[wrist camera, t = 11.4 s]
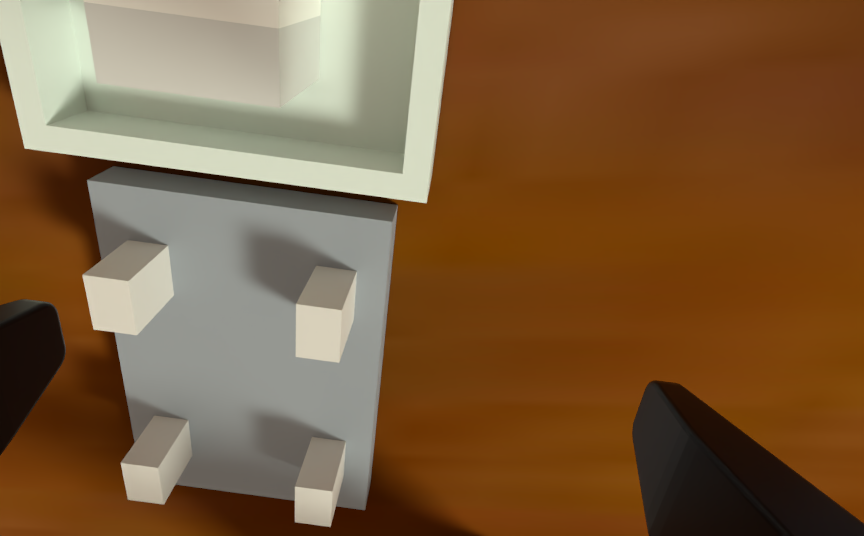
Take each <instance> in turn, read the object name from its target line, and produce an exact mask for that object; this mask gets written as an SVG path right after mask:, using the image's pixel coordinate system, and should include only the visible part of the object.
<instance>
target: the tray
mask: <svg viewBox="0 0 864 536" xmlns="http://www.w3.org/2000/svg"><path fill="white" fill-rule="evenodd" d="M453 3H454V0H321V24H320V71H319V80H317V81H316V82H315V83H313V84H312V85H311V86H309V87H308V88H306V89H305V90H304V91H302V92H301V93H300V94H298V95H297V96H295V97H294V98H293V99H291V100H290V101H289V102H287V103H286V104H285V105H283V106H282V107H280V108H277V107H269V106H262V105H255V104H247V103H240V102H233V101H225V100H218V99H211V98H203V97H196V96H188V95H181V94H174V93H166V92H159V91H152V90H144V89H137V88H130V87H122V86H115V85H108V84H100V83H97V81H96V74H95V68H94V62H93V56H92V50H91V44H90V38H89V32H88V26H87V20H86V14H85V7H84V1H83V0H0V43H1V47H2V52H3V56H4V60H5V65H6V69H7V73H8V78H9V82H10V86H11V91H12V95H13V99H14V104H15V108H16V112H17V117H18V121H19V125H20V130H21V134H22V138H23V143H24V147H25V148H26V149H33V150H40V151H48V152H55V153H62V154H70V155H77V156H84V157H92V158H99V159H106V160H114V161H121V162H128V163H135V164H143V165H150V166H157V167H165V168H172V169H179V170H187V171H194V172H201V173H209V174H216V175H223V176H231V177H238V178H245V179H253V180H260V181H267V182H275V183H282V184H289V185H297V186H304V187H311V188H319V189H326V190H333V191H341V192H348V193H355V194H363V195H370V196H377V197H385V198H392V199H399V200H407V201H414V202H421V203H427V198H428V193H429V188H430V183H431V177H432V170H433V162H434V154H435V146H436V138H437V130H438V122H439V114H440V107H441V99H442V91H443V83H444V75H445V67H446V59H447V51H448V43H449V35H450V27H451V19H452V11H453Z"/></svg>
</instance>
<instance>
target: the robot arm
mask: <svg viewBox="0 0 864 536" xmlns="http://www.w3.org/2000/svg"><path fill="white" fill-rule="evenodd" d="M65 351H66V348H65V343H64V338H63V334H62V329H61V325H60V320H59V316H58V312H57V309H56V308H55V306H54V305H52V304H51V303H49V302H42V301H35V300H27V299H24V300H17V301H14V302H10V303H7V304H3V305H0V455H1V454H2V452H3V451H4V450H5V448H6V447H7V446H8V444H9V443H10V441H11V440H12V438H13V437H14V436H15V434H16V433H17V431H18V430H19V428H20V427H21V425H22V424H23V422H24V421H25V419H26V418H27V416H28V415H29V413H30V412H31V410H32V409H33V407H34V406H35V404H36V403H37V401H38V400H39V398H40V397H41V395H42V394H43V392H44V390H45V389H46V387H47V386H48V384H49V383H50V381H51V380H52V378H53V377H54V375H55V374H56V372H57V371H58V369H59V368H60V366H61V365H62V363H63V360H64V357H65ZM632 434H633V443H634V449H635V455H636V462H637V468H638V474H639V480H640V486H641V493H642V499H643V505H644V511H645V517H646V522H647V528H648V533H649V536H864V523H862V522H861V521H860V520H858V519H857V518H856V517H854V516H853V515H852V514H851V513H849V512H848V511H847V510H845V509H844V508H843V507H841V506H840V505H839V504H837V503H836V502H835V501H833V500H832V499H831V498H829V497H828V496H827V495H825V494H824V493H823V492H821V491H820V490H819V489H818V488H816V487H815V486H814V485H812V484H811V483H810V482H808V481H807V480H806V479H804V478H803V477H802V476H800V475H799V474H798V473H796V472H795V471H794V470H792V469H791V468H790V467H788V466H787V465H786V464H785V463H783V462H782V461H781V460H779V459H778V458H777V457H775V456H774V455H773V454H771V453H770V452H769V451H767V450H766V449H765V448H763V447H762V446H761V445H759V444H758V443H757V442H755V441H754V440H753V439H752V438H750V437H749V436H748V435H746V434H745V433H744V432H742V431H741V430H740V429H738V428H737V427H736V426H734V425H733V424H732V423H730V422H729V421H728V420H726V419H725V418H724V417H723V416H721V415H720V414H719V413H717V412H716V411H715V410H713V409H712V408H711V407H709V406H708V405H707V404H705V403H704V402H703V401H701V400H700V399H699V398H697V397H696V396H695V395H693V394H692V393H691V392H690V391H688V390H687V389H686V388H684V387H683V386H682V385H680V384H677V383H671V382H663V381H652V382H650V383H649V384H648V385H647V387H646V389H645V392H644V394H643V397H642V400H641V403H640V406H639V409H638V411H637V414H636V417H635V420H634V423H633V431H632Z"/></svg>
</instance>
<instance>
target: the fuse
mask: <svg viewBox="0 0 864 536" xmlns="http://www.w3.org/2000/svg"><path fill="white" fill-rule="evenodd" d="M83 1H84V7H85V14H86V20H87V26H88V32H89V38H90V44H91V50H92V56H93V62H94V68H95V74H96V81H97V83H100V84H108V85H115V86H122V87H130V88H137V89H144V90H152V91H159V92H166V93H174V94H181V95H188V96H196V97H203V98H211V99H218V100H225V101H233V102H240V103H247V104H255V105H262V106H269V107H277V108H280V107H282V106H283V105H285V104H286V103H287V102H289V101H290V100H291V99H293V98H294V97H295V96H297V95H298V94H300V93H301V92H302V91H304V90H305V89H306V88H308V87H309V86H311V85H312V84H313V83H315V82H316V81H317V80H319V71H320V24H321V0H83Z"/></svg>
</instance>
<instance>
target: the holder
mask: <svg viewBox="0 0 864 536" xmlns="http://www.w3.org/2000/svg"><path fill="white" fill-rule="evenodd" d="M87 183H88V189H89V194H90V200H91V205H92V211H93V216H94V222H95V227H96V233H97V238H98V244H99V249H100V255H101V261H100V262H99V263H97V264H96V265H95V266H93V267H92V268H91V269H90V270H88V271H87V272H86V273H84V274H83V280H84V285H85V290H86V295H87V300H88V305H89V310H90V314H91V319H92V324H93V329H94V330H101V331H109V332H115V338H116V343H117V349H118V354H119V360H120V365H121V371H122V376H123V382H124V387H125V393H126V398H127V404H128V409H129V415H130V420H131V426H132V431H133V437H134V442H135V443H134V445H133V446H132V448H131V449H130V450H129V452H128V453H127V455H126V456H125V457H124V459H123V460H122V462H121V468H122V473H123V477H124V482H125V487H126V492H127V497H128V500H135V501H142V502H149V503H157V504H164V503H165V502H166V500H167V498H168V497H169V495H170V493H171V491H172V490H173V488H174V486H175V485H182V486H190V487H197V488H204V489H212V490H219V491H226V492H234V493H241V494H249V495H256V496H263V497H271V498H278V499H286V500H293V501H295V522H297V523H305V524H312V525H319V526H327V527H331V524H332V520H333V516H334V512H335V508H336V506H337V507H345V508H352V509H359V510H365V508H366V503H367V498H368V493H369V488H370V483H371V473H372V463H373V452H374V442H375V432H376V422H377V412H378V401H379V391H380V381H381V371H382V361H383V350H384V340H385V330H386V320H387V310H388V299H389V289H390V279H391V269H392V259H393V248H394V238H395V228H396V218H397V208H398V205H394V204H387V203H380V202H372V201H365V200H358V199H350V198H343V197H336V196H328V195H321V194H314V193H306V192H299V191H292V190H284V189H277V188H270V187H262V186H255V185H248V184H240V183H233V182H226V181H218V180H211V179H204V178H196V177H189V176H182V175H174V174H167V173H160V172H152V171H145V170H138V169H130V168H123V167H116V166H113V167H111V168H109V169H107V170H105V171H103V172H101V173H100V174H98V175H96V176H94V177H92V178H90V179H88V180H87Z"/></svg>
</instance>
